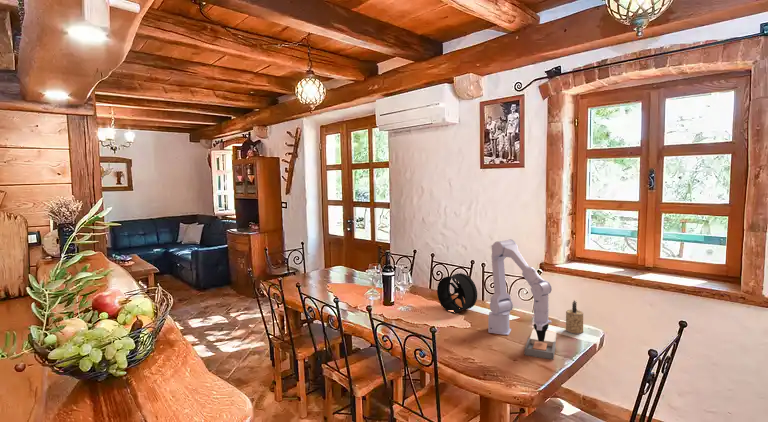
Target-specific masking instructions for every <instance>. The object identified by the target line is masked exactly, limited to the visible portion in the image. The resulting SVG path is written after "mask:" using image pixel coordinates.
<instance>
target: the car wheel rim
mask: <svg viewBox="0 0 768 422" xmlns="http://www.w3.org/2000/svg"><path fill="white" fill-rule="evenodd" d="M451 281H453V282H451ZM451 286H452V288H453V293H451V289H450V288H451ZM436 294H437V295H436V296H437V299H438V301H439V304H440V305H441V307H442V308H443V309H444V310H445V311H447V310H454V312H455V313H454V314H457V313H461V312H462V311H465V310H469V309H471V308H473V307H474V306H475V305H476V303H477V300H478V289H477V286H476V284H475V282H474V280H473V279H472V278H471V277H470V276H469V275H467V274H465V273H462V272H461V273H458V272H457V273H454V274H453V275H450V276H444V277H443V278H441V279H440V280H439V282H438V284H437V289H436ZM456 294H457V296H456V297H455V298H453V297H452V296H454V295H456ZM457 299H458V300H459V301H461V303H460V304H461V306H460V305H458V303H456V302H457V301H456V300H457ZM459 308H460V309H459Z"/></svg>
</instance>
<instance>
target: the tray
mask: <svg viewBox="0 0 768 422" xmlns="http://www.w3.org/2000/svg"><path fill="white" fill-rule="evenodd" d="M556 343H557V342H555V341H554V342H553V346H552V347H550V346H547V351H542V350H536V349H533V346H534V344H530V337H527V341H526V343H525V346H524V349H523V350H524V353H523V354H524V356H528V357H534V358H539V359H547V360H553V361H554V359H555V353H556V352H555V351H556V347H557V345H556Z"/></svg>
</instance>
